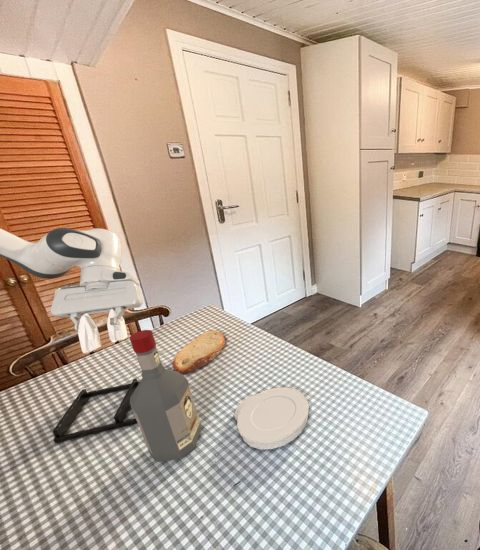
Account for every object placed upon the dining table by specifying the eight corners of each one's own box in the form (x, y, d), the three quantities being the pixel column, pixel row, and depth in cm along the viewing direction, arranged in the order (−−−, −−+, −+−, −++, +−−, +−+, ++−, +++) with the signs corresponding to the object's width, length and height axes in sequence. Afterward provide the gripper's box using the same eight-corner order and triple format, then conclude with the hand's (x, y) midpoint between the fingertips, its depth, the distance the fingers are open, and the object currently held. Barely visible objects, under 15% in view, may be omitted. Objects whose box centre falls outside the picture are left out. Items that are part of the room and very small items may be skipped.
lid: (265, 384, 88) (264, 376, 87) (322, 408, 80) (322, 399, 79) (215, 430, 74) (212, 421, 73) (278, 464, 66) (276, 454, 65)
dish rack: (55, 443, 71) (49, 434, 70) (87, 395, 85) (83, 387, 84) (148, 421, 77) (144, 412, 76) (163, 379, 91) (161, 371, 90)
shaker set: (87, 359, 80) (71, 323, 76) (77, 356, 82) (61, 320, 78) (133, 335, 91) (121, 302, 86) (124, 332, 92) (112, 300, 88)
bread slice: (219, 332, 115) (217, 323, 113) (237, 353, 103) (235, 344, 101) (164, 351, 104) (161, 342, 102) (177, 378, 91) (174, 368, 90)
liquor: (146, 465, 66) (100, 351, 55) (165, 430, 74) (128, 324, 63) (191, 458, 67) (154, 346, 56) (205, 425, 76) (175, 321, 64)
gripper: (48, 282, 82) (41, 331, 77) (136, 272, 88) (135, 317, 83) (63, 290, 87) (57, 337, 83) (145, 280, 94) (145, 323, 89)
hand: (97, 327), depth 83 cm, fingers closed on shaker set, 6 cm apart
